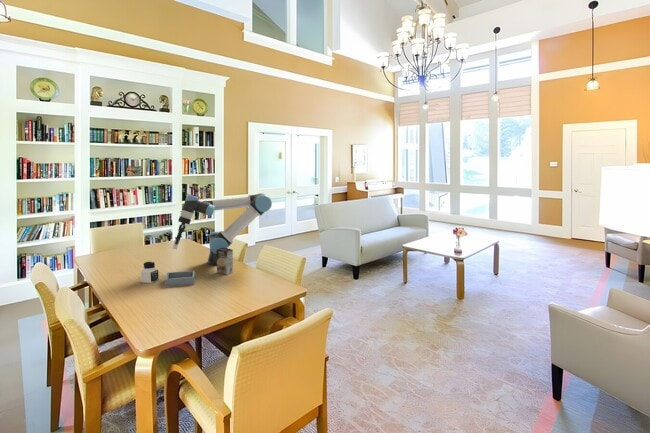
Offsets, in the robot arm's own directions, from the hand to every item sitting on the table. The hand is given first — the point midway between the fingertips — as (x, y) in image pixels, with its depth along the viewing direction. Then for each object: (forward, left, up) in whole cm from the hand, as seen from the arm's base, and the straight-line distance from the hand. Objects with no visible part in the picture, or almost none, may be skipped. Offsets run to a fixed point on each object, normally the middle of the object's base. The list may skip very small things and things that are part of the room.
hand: (174, 247), depth 239 cm
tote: (-4, +24, -16) cm, 30 cm away
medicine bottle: (+14, +17, -17) cm, 28 cm away
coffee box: (-31, +11, -17) cm, 37 cm away
